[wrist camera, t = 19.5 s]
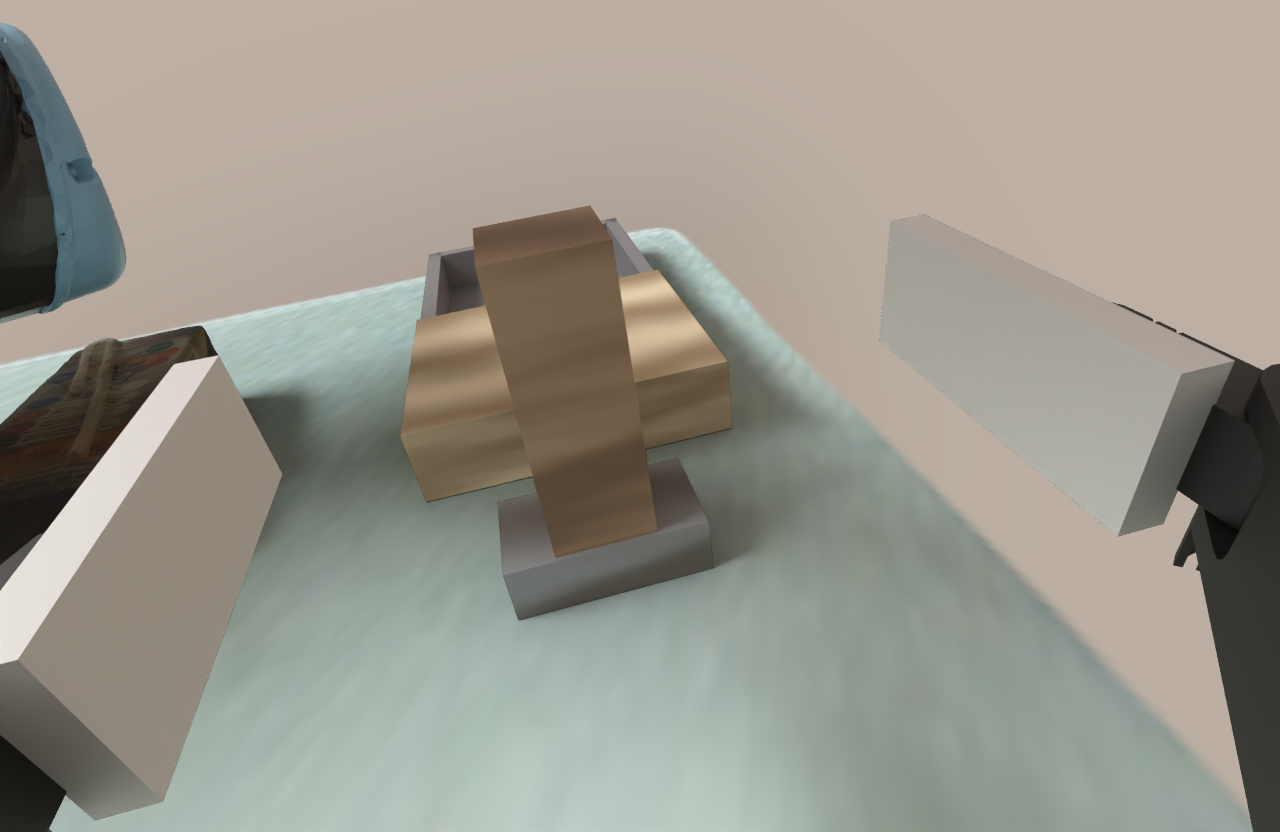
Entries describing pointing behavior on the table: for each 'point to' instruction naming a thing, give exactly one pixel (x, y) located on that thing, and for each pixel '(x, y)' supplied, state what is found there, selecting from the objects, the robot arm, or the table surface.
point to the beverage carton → (79, 424)
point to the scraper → (578, 423)
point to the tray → (459, 285)
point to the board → (482, 406)
